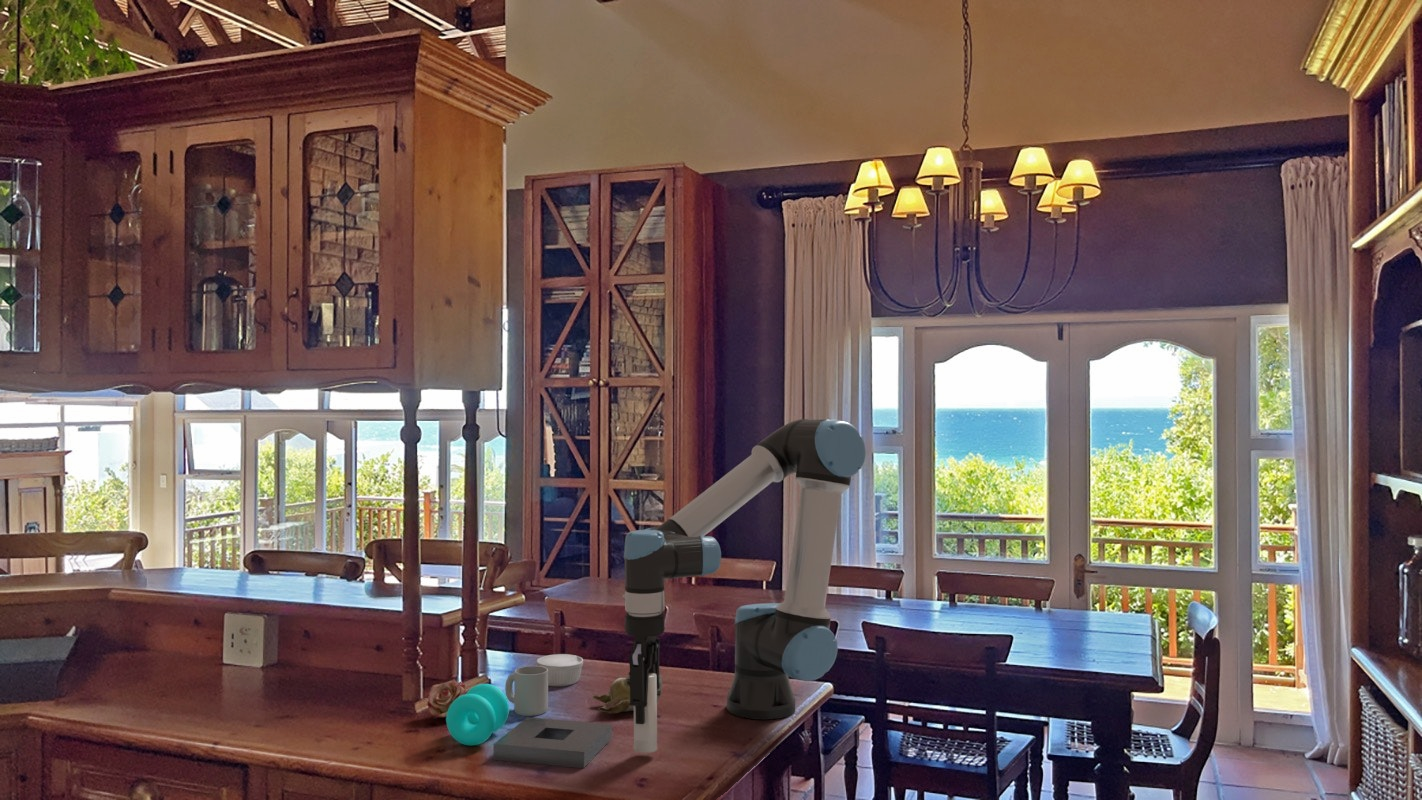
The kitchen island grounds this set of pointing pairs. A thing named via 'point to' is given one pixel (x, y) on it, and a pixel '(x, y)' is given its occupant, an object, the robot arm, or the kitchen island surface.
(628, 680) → the ceramic sculpture
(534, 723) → the block
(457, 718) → the turquoise yo-yo
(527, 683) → the cup
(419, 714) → the kitchen island surface
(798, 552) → the robot arm
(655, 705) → the white tapered capsule
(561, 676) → the ramekin
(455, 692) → the flower
